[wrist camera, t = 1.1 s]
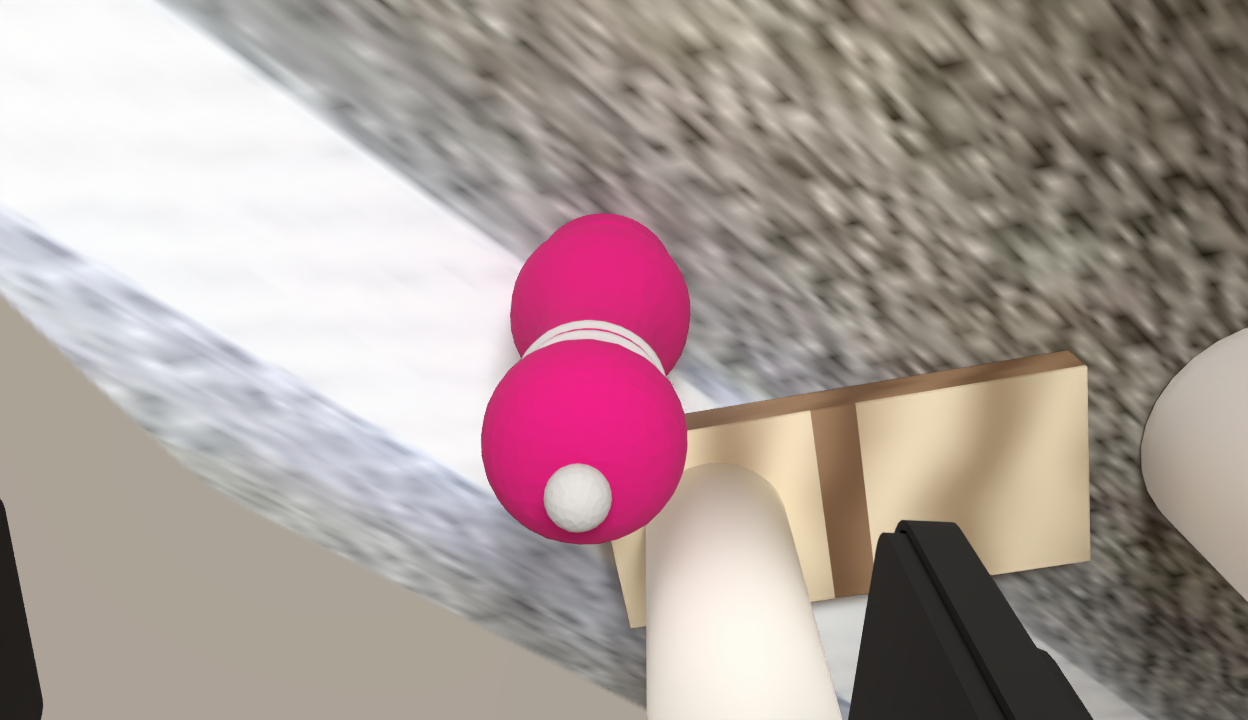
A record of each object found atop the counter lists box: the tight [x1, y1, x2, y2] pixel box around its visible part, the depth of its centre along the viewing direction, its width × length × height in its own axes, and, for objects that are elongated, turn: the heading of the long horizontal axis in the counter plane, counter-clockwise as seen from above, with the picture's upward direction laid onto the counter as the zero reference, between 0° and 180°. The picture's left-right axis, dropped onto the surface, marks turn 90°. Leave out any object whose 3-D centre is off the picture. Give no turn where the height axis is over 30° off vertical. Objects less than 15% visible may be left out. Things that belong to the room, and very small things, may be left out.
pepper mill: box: [481, 213, 690, 544], centre depth 33 cm, size 7×7×20 cm
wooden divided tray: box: [611, 350, 1090, 628], centre depth 45 cm, size 22×10×2 cm, turn 101°
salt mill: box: [646, 463, 842, 720], centre depth 35 cm, size 7×7×21 cm
